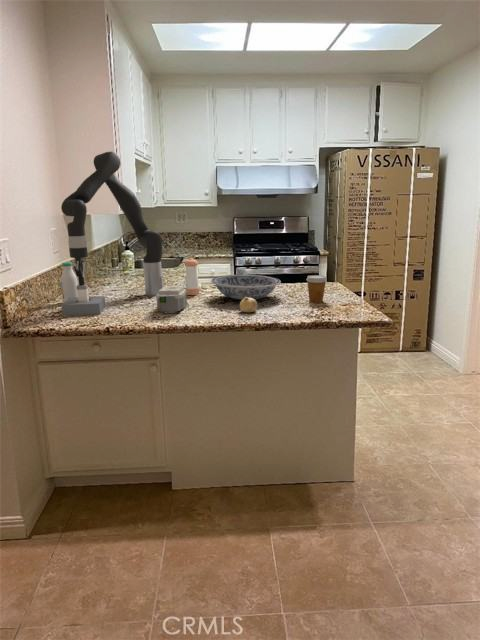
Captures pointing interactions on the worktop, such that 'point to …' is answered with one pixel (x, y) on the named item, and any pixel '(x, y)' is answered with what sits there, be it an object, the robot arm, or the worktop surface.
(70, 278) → the milk bottle
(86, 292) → the plug
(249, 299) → the onion
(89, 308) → the socket block
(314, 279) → the disposable coffee cup
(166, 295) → the grey box
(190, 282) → the pepper shaker
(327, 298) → the worktop surface
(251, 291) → the ceramic bowl
